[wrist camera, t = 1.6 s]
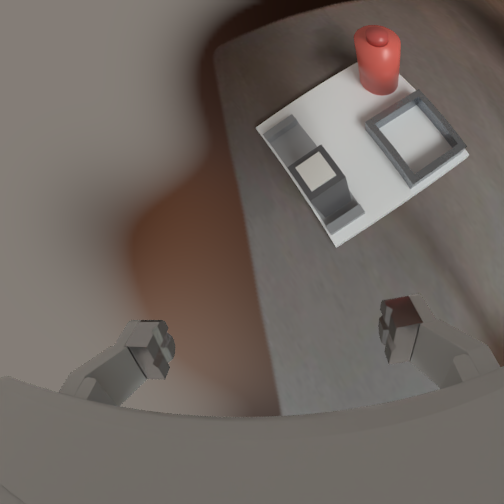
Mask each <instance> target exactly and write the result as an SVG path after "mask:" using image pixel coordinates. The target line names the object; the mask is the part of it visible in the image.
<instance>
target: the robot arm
mask: <svg viewBox="0 0 504 504" xmlns="http://www.w3.org/2000/svg"><path fill="white" fill-rule="evenodd" d="M380 310H381V313H382V316H381V317H380V318H379V325H378V327H379V336H380V340H381V343H382V344H384V345H385V351H384V352H385V355H386V358H387V361H388V364H389V365H392V364H397V363H403V362H408V361H410V363H412V364H413V365H414V366H415V367H416V368H418V369H419V370H420V371H421V372H422V373H423V374H425V375H426V376H427V377H428V378H429V379H430V380H431V381H433V382H434V383H435V384H436V385H437V386H438V387H440V389H439V390H436V391H432V392H429V393H425V394H421V395H417V396H414V397H409V398H405V399H401V400H397V401H392V402H387V403H382V404H377V405H372V406H366V407H360V408H354V409H348V410H341V411H333V412H325V413H315V414H305V415H292V416H273V417H213V416H212V417H211V416H195V415H194V416H193V415H181V414H171V413H161V412H153V411H145V410H138V409H131V408H126V407H120V405H121V404H122V403H123V402H124V401H125V400H126V399H127V398H128V397H129V396H130V395H132V394H133V393H134V392H135V391H136V390H137V389H138V388H139V387H140V385H142V384H143V383H144V382H145V381H146V380H147V379H164V380H165V378H166V375H167V373H168V370H169V368H170V367H169V364H168V362H170V361H171V360H172V359H173V357H174V354H175V343H174V340H173V338H172V336H171V335H170V334H168V333H167V330H168V326H167V325H166V322H165V321H163V320H131V321H129V322H128V323H127V325H126V327H125V328H124V330H123V332H122V333H121V335H120V336H119V338H118V340H117V341H116V343H115V345H114V346H110V347H109V348H107V349H106V350H104V351H103V352H101V353H100V354H98V355H97V356H96V357H94V358H92V359H91V360H89V361H88V362H86V363H85V364H83V365H82V366H80V367H79V368H77V369H76V370H74V371H73V372H71V373H70V375H69V376H68V378H67V379H66V381H65V383H64V384H63V386H62V387H61V389H60V391H59V392H55V391H51V390H48V389H45V388H41V387H38V386H35V385H32V384H29V383H26V382H23V381H20V380H18V379H15V378H12V377H10V376H4V377H1V378H0V504H504V366H503V367H501V368H500V366H499V364H498V362H497V361H496V359H495V357H494V355H493V354H492V352H491V350H490V349H489V347H488V345H486V344H484V343H482V342H481V341H479V340H477V339H475V338H473V337H472V336H470V335H468V334H466V333H464V332H462V331H460V330H459V329H457V328H455V327H453V326H451V325H449V324H447V323H446V322H444V321H442V320H436V318H435V316H434V315H433V313H432V311H431V310H430V308H429V307H428V305H427V303H426V302H425V300H424V299H423V297H422V295H421V294H419V293H418V294H413V295H408V296H404V297H399V298H393V299H387V300H382V302H381V306H380Z"/></svg>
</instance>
